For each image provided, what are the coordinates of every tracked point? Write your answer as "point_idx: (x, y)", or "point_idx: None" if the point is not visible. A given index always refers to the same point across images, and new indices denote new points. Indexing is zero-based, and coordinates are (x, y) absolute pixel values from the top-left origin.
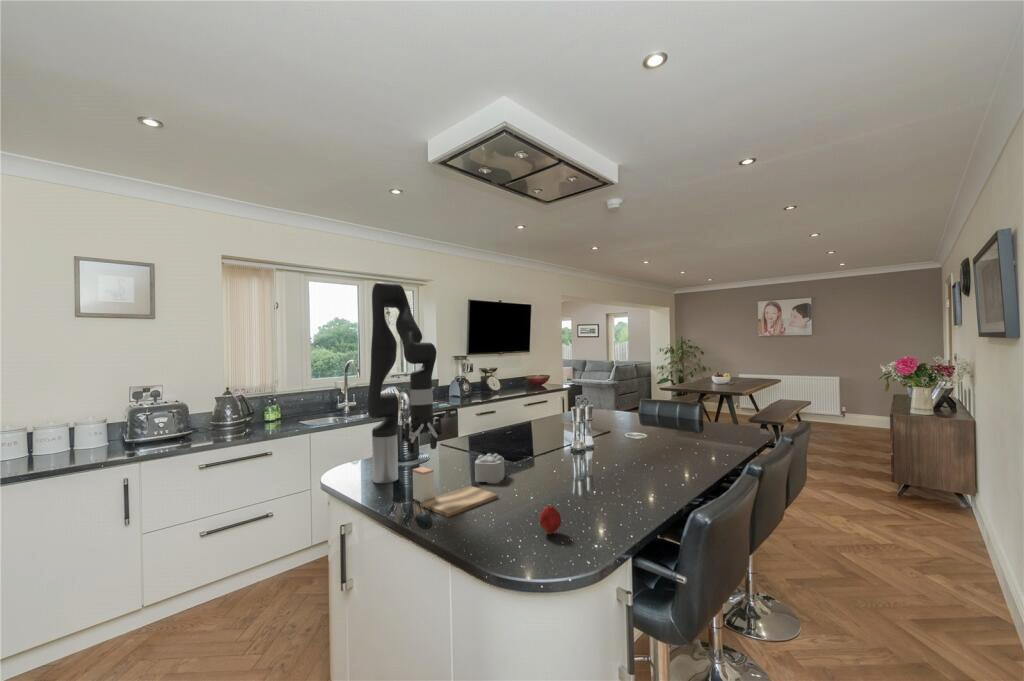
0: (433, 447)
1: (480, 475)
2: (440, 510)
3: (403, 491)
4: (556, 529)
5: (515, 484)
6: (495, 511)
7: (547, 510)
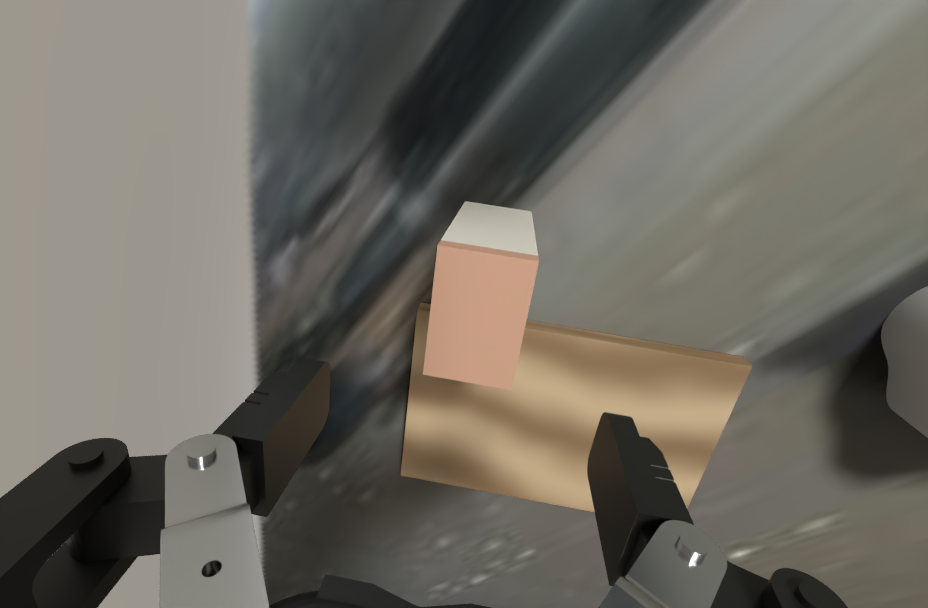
0: (592, 468)
1: (917, 362)
2: (404, 438)
3: (533, 25)
4: None
5: (898, 499)
6: (541, 559)
7: None
